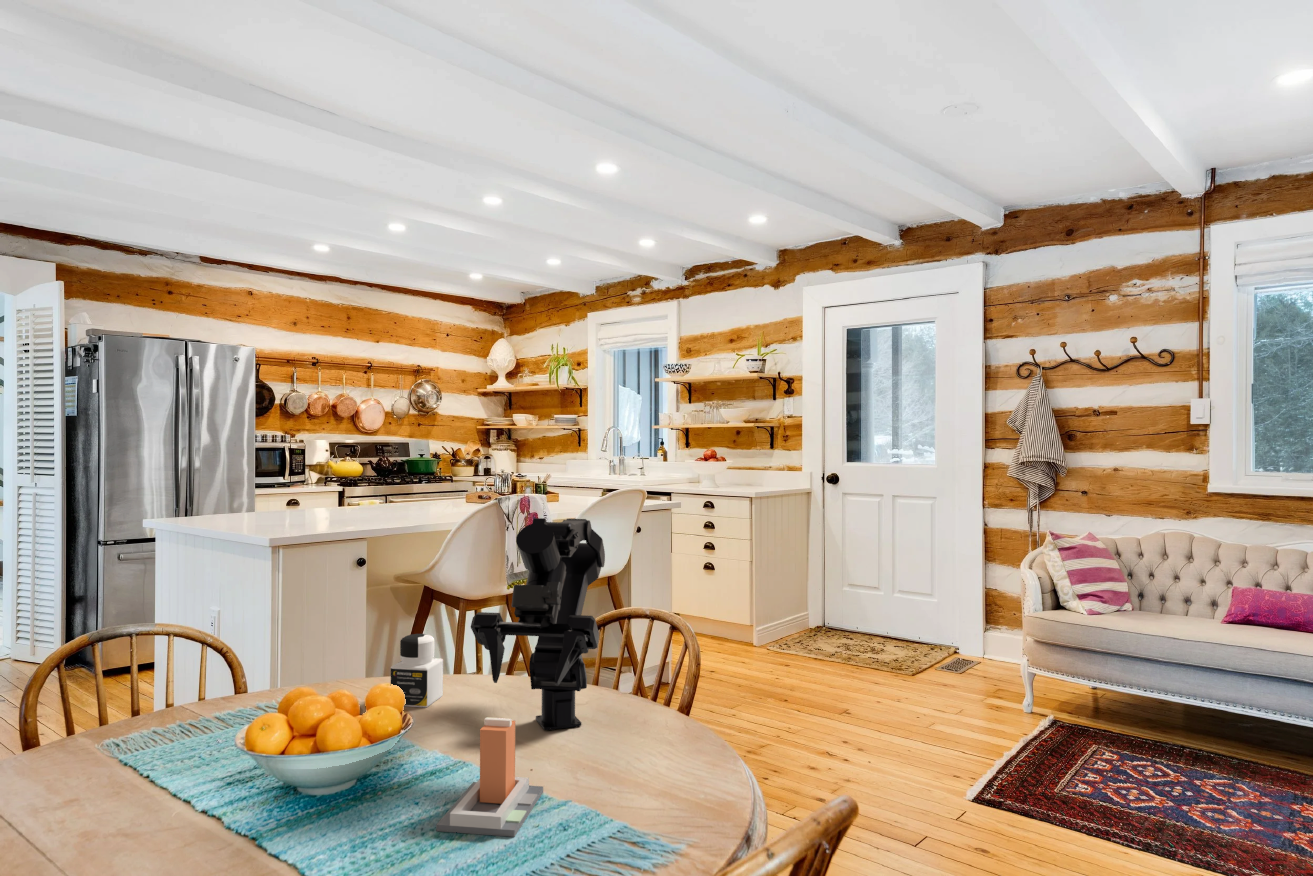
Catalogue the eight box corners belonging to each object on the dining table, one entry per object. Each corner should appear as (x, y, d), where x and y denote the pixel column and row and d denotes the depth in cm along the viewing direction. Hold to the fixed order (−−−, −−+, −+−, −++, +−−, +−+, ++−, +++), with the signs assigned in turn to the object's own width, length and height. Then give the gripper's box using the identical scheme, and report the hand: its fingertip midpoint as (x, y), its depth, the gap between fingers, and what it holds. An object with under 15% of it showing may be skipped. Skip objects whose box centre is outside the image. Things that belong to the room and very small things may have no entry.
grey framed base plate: (473, 787, 117) (473, 771, 117) (543, 792, 116) (543, 775, 116) (436, 831, 104) (436, 812, 104) (514, 836, 103) (514, 818, 103)
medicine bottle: (389, 706, 152) (390, 639, 152) (407, 694, 159) (408, 630, 159) (426, 708, 151) (427, 641, 151) (443, 696, 158) (443, 632, 158)
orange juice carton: (489, 789, 114) (490, 713, 114) (514, 791, 114) (515, 714, 114) (479, 802, 110) (480, 723, 110) (505, 804, 110) (506, 725, 110)
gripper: (473, 560, 128) (448, 654, 117) (595, 562, 126) (580, 659, 115) (490, 598, 136) (468, 690, 125) (604, 602, 134) (591, 695, 123)
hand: (525, 683), depth 122 cm, fingers open, 9 cm apart
